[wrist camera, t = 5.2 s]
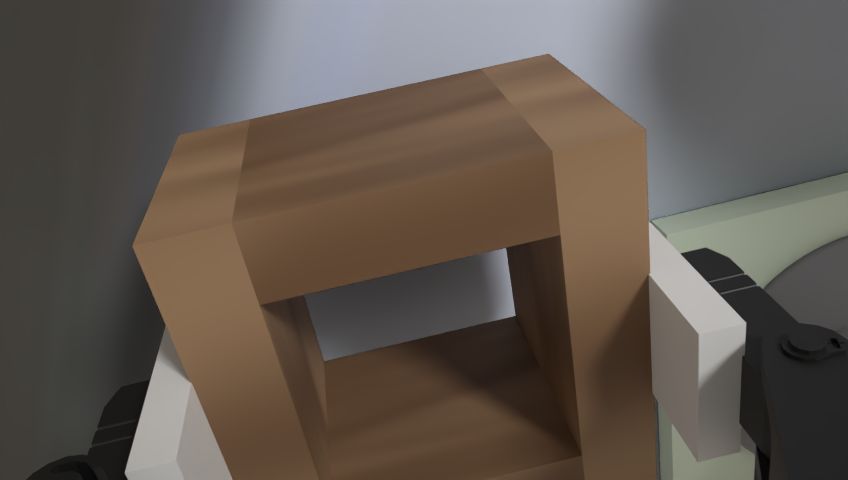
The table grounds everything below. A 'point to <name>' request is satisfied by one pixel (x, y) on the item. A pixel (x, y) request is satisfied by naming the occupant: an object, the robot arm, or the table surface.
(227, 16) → the table surface
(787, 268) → the peg stand
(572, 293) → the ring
